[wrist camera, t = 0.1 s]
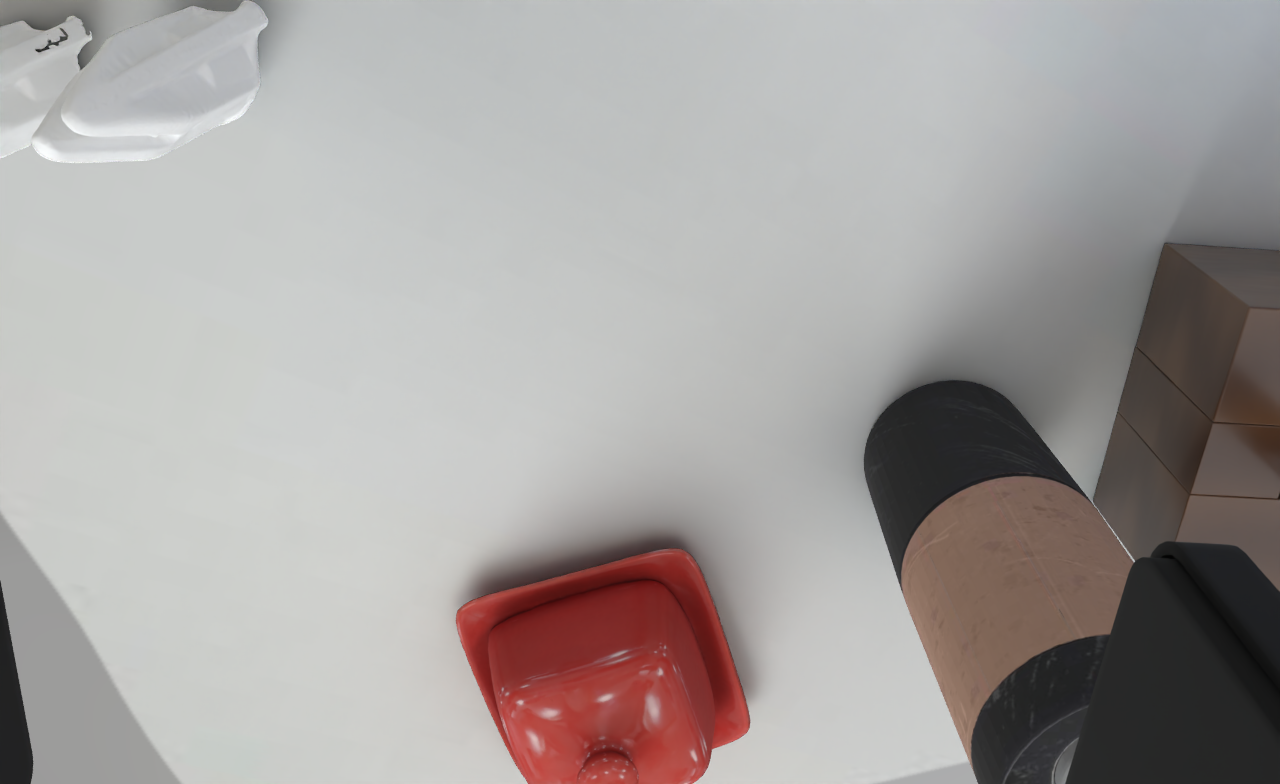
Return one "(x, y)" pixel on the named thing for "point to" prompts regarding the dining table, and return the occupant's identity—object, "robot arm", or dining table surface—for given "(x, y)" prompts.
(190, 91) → the shaker set
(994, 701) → the travel mug
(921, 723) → the dining table surface
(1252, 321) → the knife block
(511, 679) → the butter dish
